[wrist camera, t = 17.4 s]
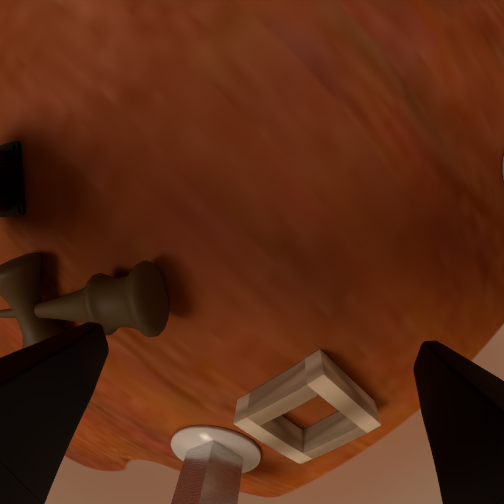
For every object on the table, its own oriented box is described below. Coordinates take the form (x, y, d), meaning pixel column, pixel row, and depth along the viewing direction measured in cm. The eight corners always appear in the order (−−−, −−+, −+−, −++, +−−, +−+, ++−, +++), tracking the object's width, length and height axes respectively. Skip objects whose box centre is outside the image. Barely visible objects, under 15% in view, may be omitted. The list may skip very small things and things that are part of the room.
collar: (237, 399, 25) (233, 423, 23) (319, 348, 23) (323, 374, 20) (299, 441, 27) (299, 463, 24) (375, 401, 24) (381, 424, 22)
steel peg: (186, 450, 28) (160, 538, 17) (213, 439, 27) (190, 538, 16) (216, 467, 29) (198, 552, 18) (243, 457, 28) (230, 551, 17)
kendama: (189, 334, 24) (30, 340, 26) (155, 218, 21) (-3, 260, 24) (168, 381, 18) (0, 369, 21) (117, 241, 16) (-41, 281, 18)
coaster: (179, 464, 31) (178, 467, 30) (165, 418, 28) (163, 422, 27) (259, 474, 30) (259, 477, 30) (262, 430, 27) (261, 434, 26)
